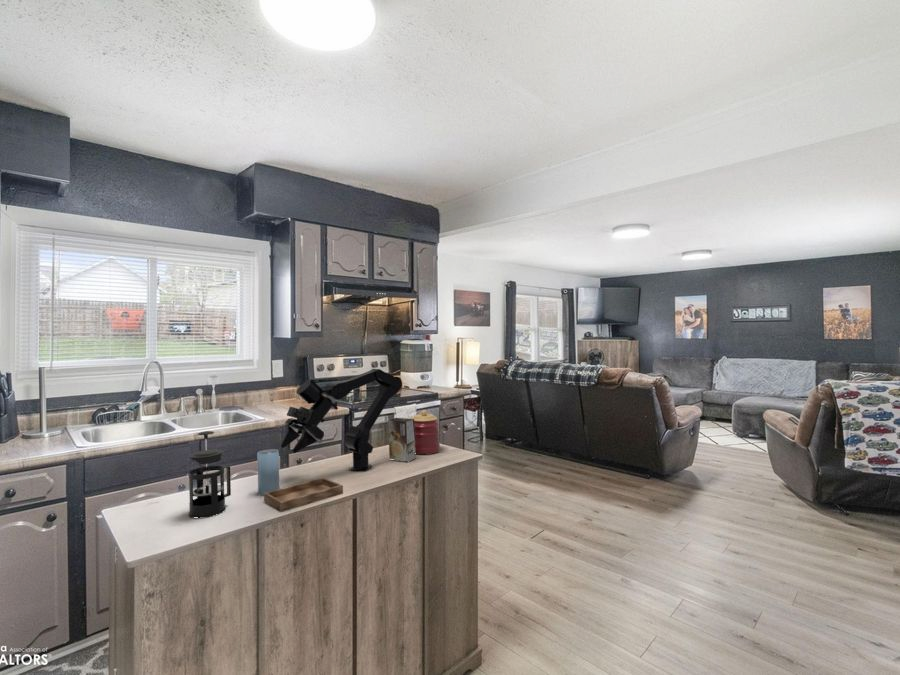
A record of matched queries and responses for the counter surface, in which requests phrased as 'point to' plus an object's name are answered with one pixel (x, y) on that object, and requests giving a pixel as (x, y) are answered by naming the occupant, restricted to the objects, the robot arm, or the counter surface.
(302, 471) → the counter surface
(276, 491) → the tray
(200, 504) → the french press
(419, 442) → the canister
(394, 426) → the coffee box
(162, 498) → the counter surface
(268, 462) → the cup
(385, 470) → the counter surface
